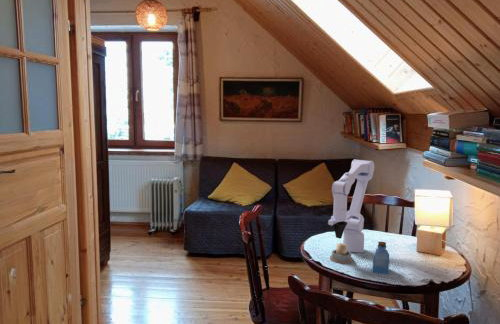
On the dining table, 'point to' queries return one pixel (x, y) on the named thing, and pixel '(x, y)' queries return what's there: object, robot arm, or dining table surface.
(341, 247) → the wooden peg
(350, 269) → the dining table surface
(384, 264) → the blue corked bottle
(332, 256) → the bottle holder
